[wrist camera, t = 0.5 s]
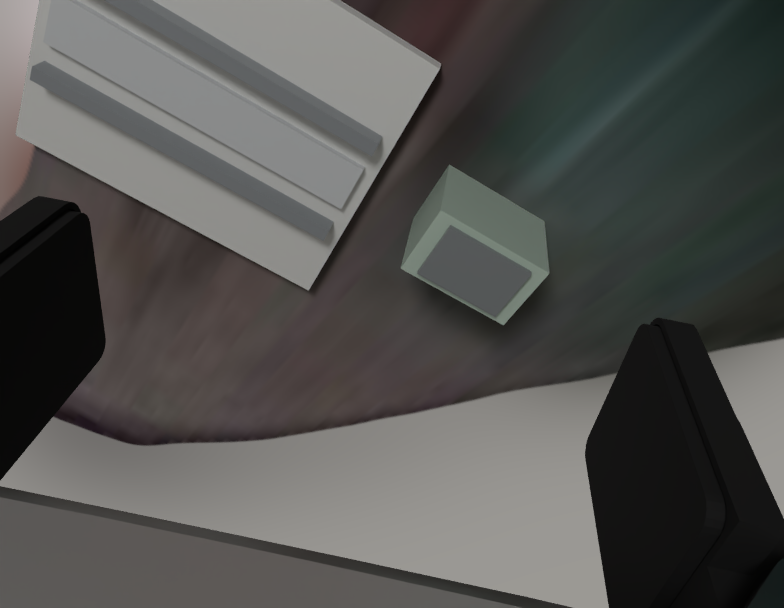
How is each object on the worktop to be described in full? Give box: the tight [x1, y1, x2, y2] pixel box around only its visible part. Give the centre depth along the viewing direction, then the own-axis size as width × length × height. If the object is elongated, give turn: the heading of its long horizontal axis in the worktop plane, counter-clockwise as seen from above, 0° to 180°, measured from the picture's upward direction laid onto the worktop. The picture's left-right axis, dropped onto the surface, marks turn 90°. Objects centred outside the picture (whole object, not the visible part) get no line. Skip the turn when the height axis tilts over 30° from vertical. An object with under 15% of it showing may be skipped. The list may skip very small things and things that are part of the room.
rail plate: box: [16, 0, 441, 291], centre depth 43 cm, size 20×24×3 cm
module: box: [401, 165, 549, 325], centre depth 43 cm, size 5×8×7 cm, turn 61°
